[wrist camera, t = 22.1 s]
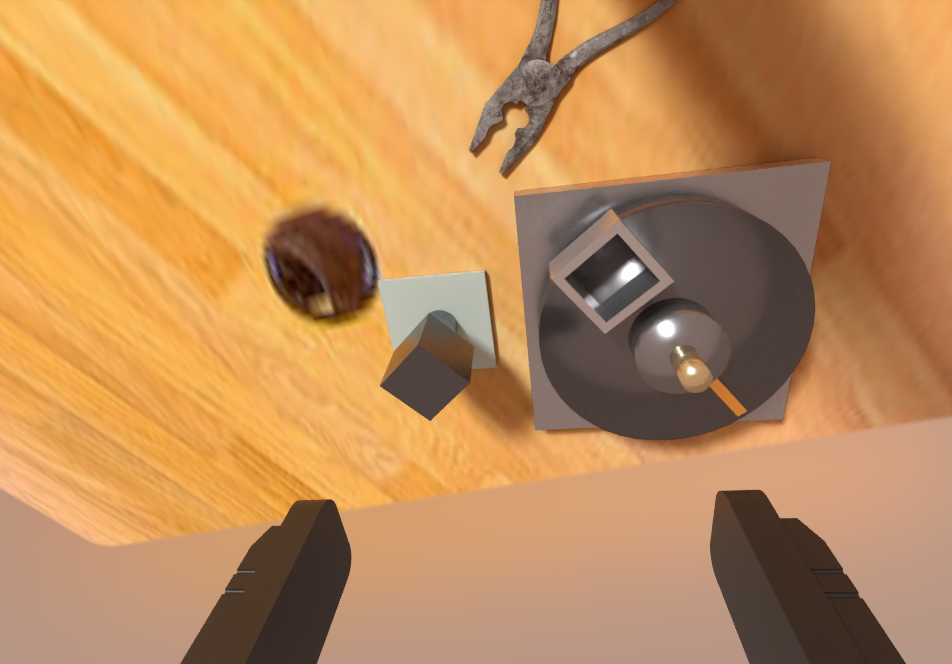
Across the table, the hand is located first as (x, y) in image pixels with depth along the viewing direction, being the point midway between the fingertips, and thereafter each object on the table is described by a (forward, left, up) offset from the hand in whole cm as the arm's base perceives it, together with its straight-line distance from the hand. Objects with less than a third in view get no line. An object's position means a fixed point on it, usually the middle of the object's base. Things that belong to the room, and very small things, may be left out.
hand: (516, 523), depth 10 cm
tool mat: (+9, -8, -30) cm, 32 cm away
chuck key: (+9, -8, -29) cm, 32 cm away
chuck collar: (+9, +10, -28) cm, 31 cm away
